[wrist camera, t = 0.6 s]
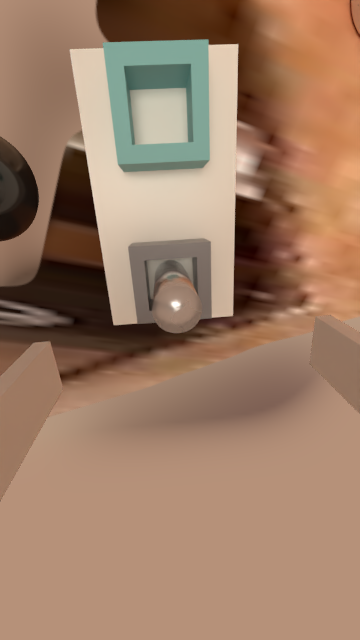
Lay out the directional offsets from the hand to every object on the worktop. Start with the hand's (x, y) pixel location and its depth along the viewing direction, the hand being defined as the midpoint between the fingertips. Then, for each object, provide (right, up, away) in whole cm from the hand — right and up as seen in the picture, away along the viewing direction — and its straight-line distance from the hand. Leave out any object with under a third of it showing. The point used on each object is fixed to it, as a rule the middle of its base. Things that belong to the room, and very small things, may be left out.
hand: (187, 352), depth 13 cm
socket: (-2, +22, +14) cm, 26 cm away
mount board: (-2, +15, +18) cm, 24 cm away
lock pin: (-1, +7, +20) cm, 21 cm away
